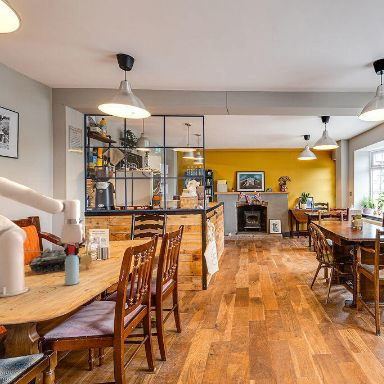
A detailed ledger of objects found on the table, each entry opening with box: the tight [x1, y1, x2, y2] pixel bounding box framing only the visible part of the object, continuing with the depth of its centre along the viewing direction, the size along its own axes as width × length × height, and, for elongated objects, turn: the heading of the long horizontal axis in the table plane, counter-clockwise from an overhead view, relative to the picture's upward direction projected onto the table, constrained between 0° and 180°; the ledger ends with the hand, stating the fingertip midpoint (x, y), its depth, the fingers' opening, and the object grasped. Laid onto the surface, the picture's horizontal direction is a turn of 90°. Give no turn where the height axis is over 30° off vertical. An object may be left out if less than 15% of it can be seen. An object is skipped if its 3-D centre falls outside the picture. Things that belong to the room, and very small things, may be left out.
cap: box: [68, 245, 76, 254], centre depth 156 cm, size 4×4×4 cm
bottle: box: [64, 254, 80, 286], centre depth 156 cm, size 6×6×20 cm
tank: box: [25, 247, 83, 275], centre depth 185 cm, size 16×31×15 cm, turn 132°
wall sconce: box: [80, 230, 98, 270], centre depth 187 cm, size 14×10×25 cm
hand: (71, 254), depth 156 cm, fingers closed on cap, 3 cm apart
